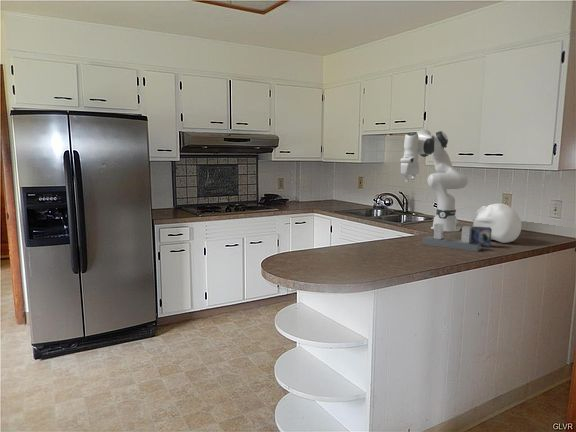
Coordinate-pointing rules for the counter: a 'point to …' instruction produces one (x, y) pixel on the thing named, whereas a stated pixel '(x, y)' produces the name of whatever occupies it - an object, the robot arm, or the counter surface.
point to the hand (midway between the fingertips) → (409, 181)
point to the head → (499, 222)
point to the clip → (438, 231)
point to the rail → (455, 241)
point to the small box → (481, 235)
